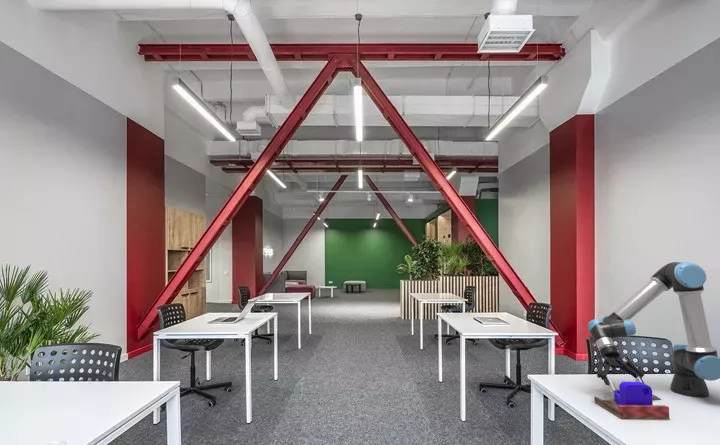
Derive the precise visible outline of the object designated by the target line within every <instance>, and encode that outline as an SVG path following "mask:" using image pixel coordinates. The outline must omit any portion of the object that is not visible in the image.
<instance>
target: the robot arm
mask: <svg viewBox="0 0 720 445" xmlns="http://www.w3.org/2000/svg"><path fill="white" fill-rule="evenodd" d="M706 281H707V274H706V271H705V270H704V269H703V268H702V267H701V266H700V265H698V264H696V263H692V262H689V261H687V262H685V261H684V262H683V261H682V262H681V261H679V262H678V261H676V262H675V261H673V262H669V263H666V264H664V265H663V266H662V267H661V268H659V269H658V271H656V272H655V273H654V274H653V275H652V276H650V280H649V281H648V282H647V283H645V284H644V285H643V286H642V287H640V289H639V290H637V291H636V292H635V293H634V294H632V296H630V297H629V298H628V299H627V300H626V301H625V302H623V303H622V305H620V306H619V307H618V308H617V309H615V310H614V311H613V312H612V313H611V314H609V315H607V316H603V317H602V318H601V319H599V318H594V319H592V320H590V321H589V322H588V323H587V328H588V331H589V333H590V336H591V337H592V339H593V341H594V343H595V346H596V347H597V350H598V351H599V354H600V356H599V357H598V358H597V359H596V361H597V372H596V376H597V378H598V379H599V378H600V380H602V381H603V382H604V384H605V386H607V387H608V390H609V391H610V394H614V391H615V390H616V389H615V386H614V385H613V382H612V380H611V378H610V376H608V374H609V371H610V369H620V370H623V371H624V372H626V373H627V374H629V375H631V376H632V377H633V378H634V382H642V383H644V384H645V382H644V380H643V377H644V376H645V374H644V372H643V371H642V370H641V369H639V367H637V366H636V365H635V364H634V363H633V362H632V361H631V360H630V358H628V357H627V356H626V357H625V358H622V357H621V354H620V352H619V350H618V348H617V347H616V344H615V342H614V340H613V339H615V338H623V337H630V336H634V335H636V333H637V332H636V331H637V329H636V325H635V323H634V322H633V320H632V319H633V318H634V317H635V316H636V315H637V314H638V313H640V312H641V311H642V310H644V309H645V308H646V307H647V306H648V305H649V304H651V303H652V302H653V301H654V300H656V298H658V297H659V296H660V295H661V294H662V293H664V292H668V291H670V289H672V291H673V293H675V294H677V296H678V301H679V306H680V310H681V315H682V320H683V325H684V330H685V334H686V340H687V344H674V345H673V347H672V358H673V372H674V374H673V377H672V381H671V383H670V391H672V392H674V393H675V394H680V395H684V396H688V397H694V398H695V397H696V398H707V397H709V396H710V391H709V388H708V385H707V384H706V381H710V382H712V381H713V382H714V381H716V380H720V358H719V356H718V351H717V348H716V347H714V346H713V345H712V342H711V338H710V337H711V336H710V332H709V327H708V324H707V323H708V322H707V318H706V314H705V309H704V304H703V299H702V293H703V292H704V291H705V288H704V284H705V283H706ZM604 364H606V367H605V370H603V368H604V367H603V365H604Z"/></svg>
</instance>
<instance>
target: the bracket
mask: <svg viewBox="0 0 720 445" xmlns="http://www.w3.org/2000/svg"><path fill="white" fill-rule="evenodd" d="M652 395H653V389H652V387H651V386H649V385H648V384H646V383H645V382H644V383H642V382H636V381H621V382H620V384H619V389H615V391H614V393H613V400H614V401H615V402H616V404H617V405H654V404H653V403H654V402H653V401H654V400H653V399H652Z"/></svg>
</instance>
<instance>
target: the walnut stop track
mask: <svg viewBox="0 0 720 445" xmlns="http://www.w3.org/2000/svg"><path fill="white" fill-rule="evenodd" d="M593 398H594V399H593V400H594V401H593V402H594V403H595V404H597V405H598V406H599V407H601V408H603V409H604V410H605V411H607V412H609V413H611V414H612V415H614V416H615V417H617V418H619V419H620V420H667V421H668V420H670V407H669V406H668V405H663V404H662V405H661V404H660V405H659V404H656V405H655V404H653V405H617V404H616V402H615V401H614V399H613V400H611V399H601V398H599V397H597V396H593Z"/></svg>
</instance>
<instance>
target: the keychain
mask: <svg viewBox="0 0 720 445" xmlns="http://www.w3.org/2000/svg"><path fill="white" fill-rule="evenodd" d="M652 399H653V401H657V400H658V401H659V400H662V398H660V397H658V396H657V395H655V394H652Z"/></svg>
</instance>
